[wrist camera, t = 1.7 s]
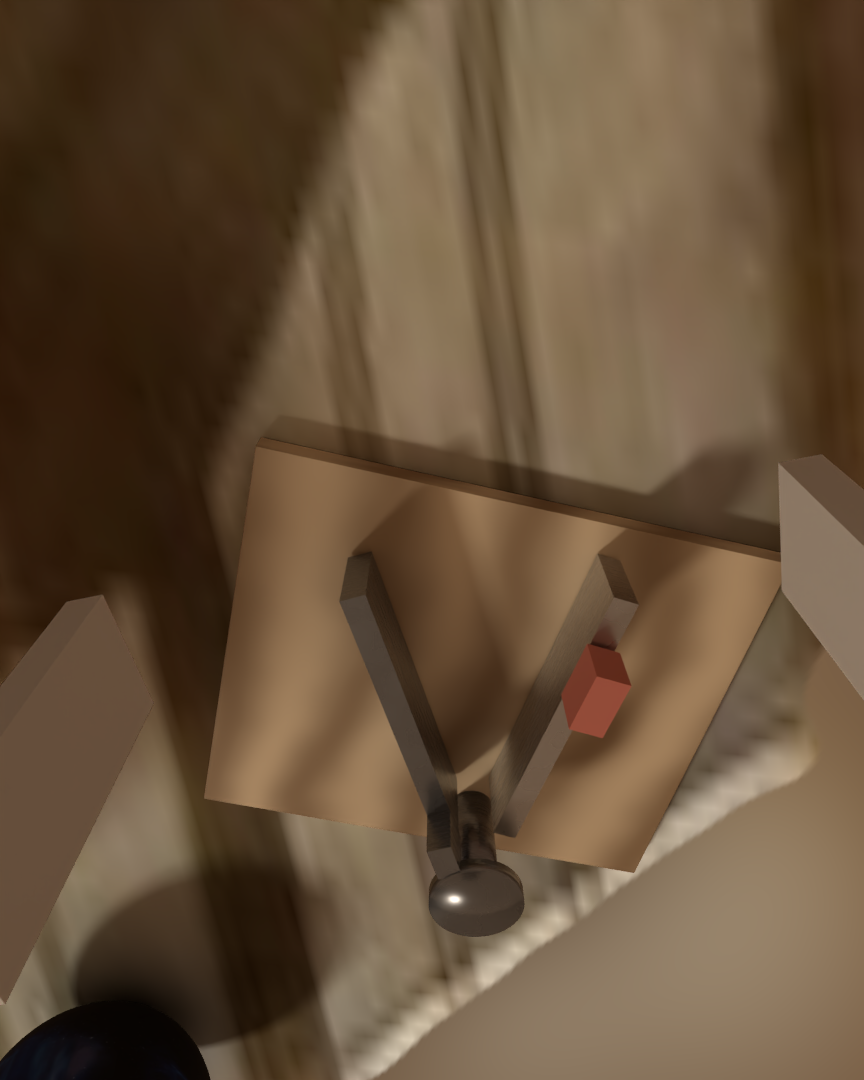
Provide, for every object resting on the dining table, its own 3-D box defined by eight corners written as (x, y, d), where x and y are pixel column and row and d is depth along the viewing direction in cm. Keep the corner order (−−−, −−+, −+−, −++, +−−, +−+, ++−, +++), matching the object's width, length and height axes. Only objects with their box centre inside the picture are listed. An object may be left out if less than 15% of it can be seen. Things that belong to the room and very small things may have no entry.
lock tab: (592, 703, 37) (602, 738, 35) (561, 694, 37) (568, 729, 35) (619, 652, 36) (631, 686, 34) (587, 643, 36) (596, 676, 34)
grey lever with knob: (521, 829, 47) (534, 926, 41) (442, 845, 47) (443, 944, 42) (422, 537, 38) (421, 610, 32) (327, 562, 39) (308, 638, 33)
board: (209, 783, 47) (204, 798, 46) (260, 437, 37) (255, 446, 36) (629, 856, 50) (634, 872, 49) (781, 552, 40) (790, 564, 39)
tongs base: (485, 825, 47) (491, 905, 42) (444, 815, 47) (445, 895, 42) (619, 559, 39) (646, 621, 34) (571, 545, 38) (590, 604, 34)
